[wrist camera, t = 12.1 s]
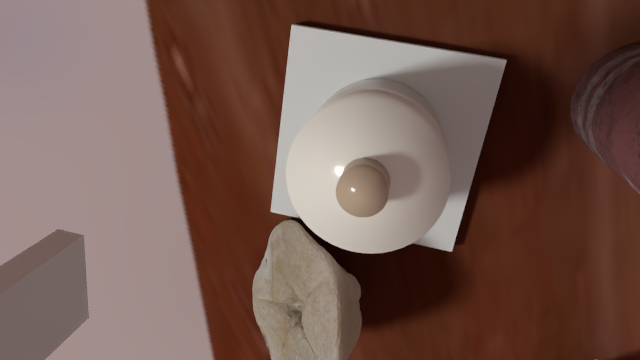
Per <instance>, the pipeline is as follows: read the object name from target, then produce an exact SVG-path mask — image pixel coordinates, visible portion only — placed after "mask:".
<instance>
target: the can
mask: <svg viewBox="0 0 640 360" xmlns="http://www.w3.org/2000/svg"><path fill="white" fill-rule="evenodd" d="M570 117H571V120H572V124H573V128H574V131H575V132H576V134H577V135H578V136H579V138H580V139H581V140H582V142H583V143H584V144H585V145H586V146H587V147H588V148H589V149H590V150H591V151H593V152H594V153H595V154H596V155H597V156H598V157H599V158H600V159H601V160H602V161H604V162H605V163H606V164H607V165H608V166H609V167H610V168H611V169H612V170H613V171H615V172H616V173H617V174H618V175H619V176H620V177H621V178H622V179H623V180H624V181H625V182H627V183H628V184H629V185H630V186H631V187H632V188H633V189H634V190H635V191H636V192H638V193H639V194H640V44H638V45H629V46H626V47H624V48H621V49H618V50H615V51H612V52H610V53H608V54H607V55H605V56H604V57H602V58H601V59H600V60H598V61H597V62H595V63H594V64H592V65H591V67H590V68H589V69H588V70H587V71H586V72H585V74H584V75H583V76H582V77H581V78H580V80H579V81H578V84H577V86H576V88H575V91H574V93H573V95H572V98H571V109H570Z"/></svg>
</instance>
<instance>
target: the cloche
mask: <svg viewBox="0 0 640 360" xmlns="http://www.w3.org/2000/svg"><path fill="white" fill-rule="evenodd" d="M450 180H451V177H450V167H449V161H448V155H447V149H446V143H445V137H444V132H443V128H442V124H441V122H440V119H439V116H438V115H437V113H436V111H435V109H434V108H433V107H432V105H431V104H430V103H429V101H428V100H427V99H426V98H425V97H423V96H422V95H421V94H420V93H419V92H417V91H416V90H415V89H413V88H411V87H409V86H407V85H405V84H403V83H400V82H397V81H393V80H389V79H366V80H360V81H357V82H354V83H351V84H349V85H347V86H345V87H343V88H341V89H340V90H338V91H337V92H335V93H334V94H333V95H332V96H331V97H330V98H329V99H328V100H327V101H326V102H325V103H324V104H323V105H322V106H321V108H320V109H319V110H318V111H317V112H316V113H315V114H314V115H313V116H312V118H311V119H310V120H309V121H308V122H307V123H306V124H305V125H304V126H303V128H302V129H301V130H300V132H299V133H298V135H297V136H296V138H295V140H294V142H293V144H292V145H291V148H290V151H289V154H288V159H287V164H286V183H287V188H288V193H289V196H290V199H291V202H292V204H293V206H294V208H295V210H296V212H297V213H298V215H299V216H300V218H301V219H302V221H303V222H304V223H305V224H306V225H307V226H308V227H309V228H310V229H311V230H312V231H313V232H314V233H315V234H316V235H318V236H319V237H321V238H322V239H323V240H325V241H327V242H329V243H330V244H332V245H334V246H337V247H339V248H342V249H345V250H349V251H352V252H358V253H369V254H374V253H385V252H390V251H394V250H397V249H401V248H403V247H405V246H408V245H410V244H412V243H413V242H415V241H417V240H418V239H420V238H421V237H422V236H423V235H425V234H426V233H427V232H428V231H429V230H430V229H431V228H432V227H433V226H434V225H435V223H436V222H437V220H438V219H439V218H440V216H441V214H442V212H443V210H444V208H445V206H446V203H447V200H448V196H449V191H450Z"/></svg>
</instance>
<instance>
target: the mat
mask: <svg viewBox="0 0 640 360" xmlns="http://www.w3.org/2000/svg"><path fill="white" fill-rule="evenodd" d="M506 61H507V60H505V59H502V58H496V57H490V56H484V55H478V54H472V53H466V52H460V51H454V50H448V49H442V48H436V47H430V46H424V45H418V44H412V43H406V42H400V41H394V40H388V39H382V38H376V37H370V36H364V35H358V34H352V33H346V32H340V31H334V30H328V29H321V28H315V27H309V26H303V25H297V24H293V25H292V26H291V35H290V43H289V52H288V61H287V70H286V79H285V88H284V97H283V106H282V115H281V124H280V133H279V142H278V150H277V159H276V168H275V177H274V186H273V195H272V204H271V212H274V213H278V214H283V215H287V216H292V217H297V218H300V216H299V215H298V213H297V212H296V210H295V208H294V206H293V204H292V202H291V199H290V196H289V193H288V188H287V183H286V164H287V159H288V154H289V151H290V148H291V145H292V144H293V142H294V140H295V138H296V136H297V135H298V133H299V132H300V130H301V129H302V128H303V126H304V125H305V124H306V123H307V122H308V121H309V120H310V119H311V118H312V116H313V115H314V114H315V113H316V112H317V111H318V110H319V109H320V108H321V106H322V105H323V104H324V103H325V102H326V101H327V100H328V99H329V98H330V97H331V96H332V95H333V94H334V93H335V92H337V91H338V90H340V89H341V88H343V87H345V86H347V85H349V84H351V83H354V82H357V81H360V80H366V79H389V80H393V81H397V82H400V83H403V84H405V85H407V86H409V87H411V88H413V89H415V90H416V91H417V92H419V93H420V94H421V95H422V96H423V97H425V98H426V99H427V100H428V101H429V103H430V104H431V105H432V107H433V108H434V109H435V111H436V113H437V115H438V116H439V119H440V122H441V124H442V128H443V132H444V137H445V143H446V149H447V155H448V161H449V167H450V177H451V180H450V191H449V196H448V200H447V203H446V206H445V208H444V210H443V212H442V214H441V216H440V218H439V219H438V220H437V222H436V223H435V225H434V226H433V227H432V228H431V229H430V230H429V231H428V232H427V233H426V234H425V235H423V236H422V237H421V238H420V239H418V240H417V241H415V242H413V243H414V244H418V245H423V246H427V247H432V248H436V249H441V250H445V251H450V252H452V250H453V246H454V243H455V239H456V236H457V232H458V229H459V225H460V222H461V218H462V215H463V211H464V208H465V204H466V201H467V197H468V194H469V190H470V187H471V183H472V180H473V176H474V173H475V170H476V166H477V163H478V159H479V156H480V152H481V149H482V145H483V142H484V138H485V135H486V131H487V128H488V124H489V121H490V117H491V114H492V110H493V107H494V103H495V100H496V96H497V93H498V89H499V86H500V82H501V79H502V75H503V72H504V68H505V65H506Z"/></svg>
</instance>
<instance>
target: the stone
mask: <svg viewBox="0 0 640 360" xmlns="http://www.w3.org/2000/svg"><path fill="white" fill-rule="evenodd" d="M360 297H361V288H360V284H359V283H358V281H357V279H356V278H355V277H354V276H353V275H352V274H350V273H347V271H346V270H345V269H344V268H342V267H341V266H340V265H339V264H338V263H337V262H336V260H335V259H334V258H333V257H332V256H331V255H330V254H329V253H328V252H327V251H326V250H325V249H324V248H323V247H322V246H320V245H319V244H318V243H317V242H316V241H315V240H314V239H313V238H312V237H311V236H310V235H309V234H308V233H307V232H306V231H305V229H304V228H303V227H302V225H300V224H299V223H298V222H296V221H294V220H285V221H283V222H281V223H280V224H278V225H277V226H276V227H275V228H274V229H273V231H272V233H271V235H270V237H269V242H268V247H267V250H266V252H265V256H264V258H263V260H262V263H261V266H260V268H259V269H258V271H257V272H256V274H255V277H254V281H253V310H254V314H255V318H256V321H257V323H258V325H259V326H260V329H261V332H262V334H263V336H264V338H265V341H266V343H267V347H268V349H269V352H270V356H271V359H272V360H348V357H349V355H350V354H351V352H352V351H353V349H354V347H355V345H356V343H357V340H358V338H359V334H360V331H361V326H362V316H361V311H360V310H359V309H360V305H359V299H360Z"/></svg>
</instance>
